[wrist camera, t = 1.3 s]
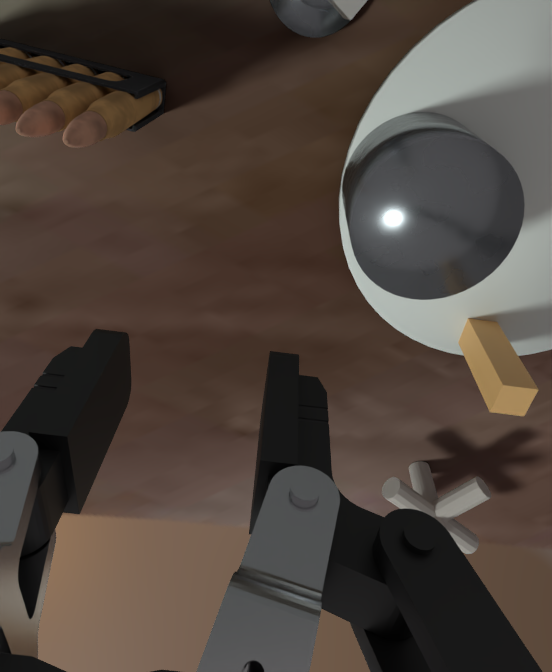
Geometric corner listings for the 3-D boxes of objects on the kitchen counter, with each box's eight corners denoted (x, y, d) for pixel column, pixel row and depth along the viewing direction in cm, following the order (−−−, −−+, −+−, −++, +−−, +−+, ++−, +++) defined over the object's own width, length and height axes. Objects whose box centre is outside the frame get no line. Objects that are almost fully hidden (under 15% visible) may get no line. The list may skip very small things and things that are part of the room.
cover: (506, 122, 26) (554, 150, 21) (457, 259, 31) (487, 309, 26) (358, 101, 26) (371, 124, 21) (330, 242, 31) (335, 289, 26)
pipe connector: (428, 408, 41) (460, 513, 32) (500, 468, 44) (546, 576, 36) (339, 468, 45) (347, 573, 37) (411, 517, 48) (433, 624, 40)
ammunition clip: (166, 80, 28) (91, 121, 18) (163, 114, 29) (91, 172, 19) (-28, 31, 27) (-220, 47, 17) (-24, 69, 28) (-203, 104, 18)
